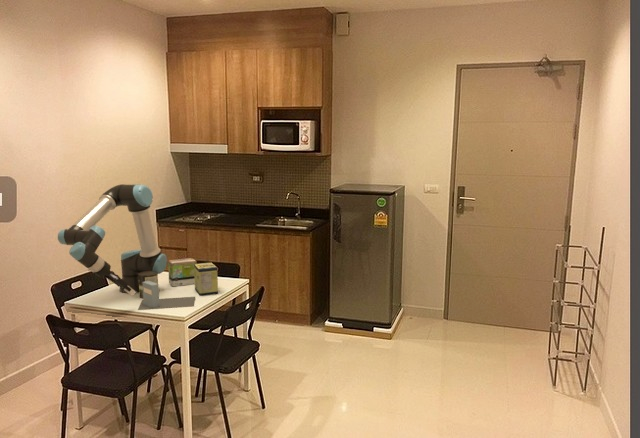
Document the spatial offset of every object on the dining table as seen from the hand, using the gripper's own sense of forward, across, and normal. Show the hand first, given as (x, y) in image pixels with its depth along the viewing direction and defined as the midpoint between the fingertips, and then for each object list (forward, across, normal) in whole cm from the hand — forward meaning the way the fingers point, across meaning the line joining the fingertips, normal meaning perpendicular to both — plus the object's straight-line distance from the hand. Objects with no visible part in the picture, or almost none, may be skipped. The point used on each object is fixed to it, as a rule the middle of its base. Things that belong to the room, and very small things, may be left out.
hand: (133, 293), depth 254 cm
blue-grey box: (+13, 0, +1) cm, 13 cm away
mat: (+19, +2, +6) cm, 20 cm away
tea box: (+39, -28, +26) cm, 54 cm away
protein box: (+38, -2, +26) cm, 46 cm away
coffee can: (+18, -16, +6) cm, 25 cm away
